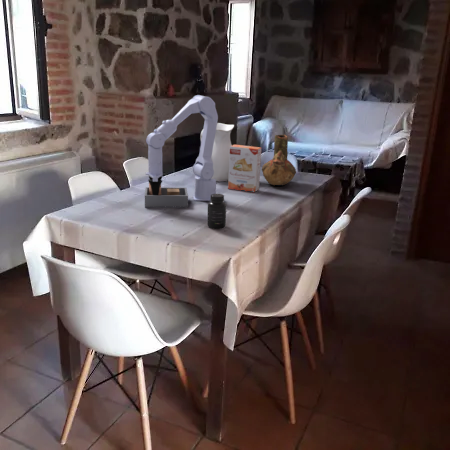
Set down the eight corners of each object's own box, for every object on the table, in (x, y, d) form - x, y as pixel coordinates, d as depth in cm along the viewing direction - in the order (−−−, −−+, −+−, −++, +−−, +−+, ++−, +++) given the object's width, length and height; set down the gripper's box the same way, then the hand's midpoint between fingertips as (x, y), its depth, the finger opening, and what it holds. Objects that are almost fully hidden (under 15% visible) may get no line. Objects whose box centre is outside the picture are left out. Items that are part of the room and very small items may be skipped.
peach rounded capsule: (160, 196, 206) (160, 180, 203) (162, 199, 201) (161, 183, 199) (149, 196, 205) (148, 180, 202) (149, 199, 200) (149, 183, 198)
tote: (186, 198, 212) (186, 187, 210) (187, 207, 199) (188, 195, 197) (145, 198, 209) (145, 187, 208) (144, 207, 197) (144, 195, 195)
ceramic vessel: (258, 190, 231) (261, 138, 223) (262, 178, 255) (266, 131, 247) (294, 193, 228) (298, 140, 220) (295, 181, 253) (299, 133, 245)
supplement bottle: (206, 223, 180) (207, 192, 177) (224, 223, 181) (226, 192, 177) (207, 229, 174) (208, 197, 170) (226, 229, 175) (227, 197, 171)
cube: (178, 199, 207) (178, 188, 205) (179, 203, 202) (179, 191, 201) (167, 199, 206) (167, 188, 205) (167, 203, 202) (167, 191, 200)
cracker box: (227, 189, 230) (229, 145, 224) (232, 186, 236) (233, 143, 229) (255, 193, 226) (258, 148, 219) (259, 190, 231) (262, 146, 224)
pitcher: (215, 174, 261) (216, 122, 252) (240, 179, 252) (243, 125, 243) (186, 181, 242) (187, 125, 233) (213, 187, 233) (215, 129, 224)
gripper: (145, 158, 204) (146, 189, 209) (144, 166, 191) (145, 198, 195) (162, 159, 205) (162, 190, 210) (162, 166, 192) (162, 199, 196)
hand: (155, 194), depth 202 cm, fingers closed on peach rounded capsule, 5 cm apart
